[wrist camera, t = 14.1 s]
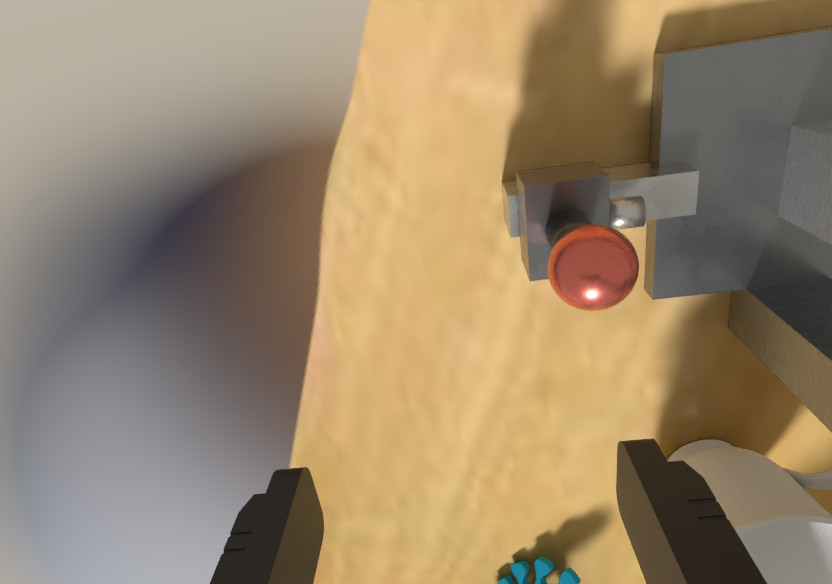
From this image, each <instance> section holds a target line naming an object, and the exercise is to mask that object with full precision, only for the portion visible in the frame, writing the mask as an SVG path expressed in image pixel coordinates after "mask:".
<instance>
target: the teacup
mask: <svg viewBox="0 0 832 584" xmlns="http://www.w3.org/2000/svg"><path fill="white" fill-rule="evenodd" d="M670 461H684V462H686V463H687V464H688V465H689V466H690V467H692V468H693V469H694V470H695V471H696V472H698V473H699V474H700V475H701V476H703V477H704V479H705V481H706V482H707V484H708V486H709V487H710V489H711V491H712V492H713V494H714V496H715V497H716V501H717V502H719V504H720V506H721V507H722V509H723V511H724V512H725V514H726V518H727V519H729V521H730V522H731V524H732V526H733V527H734V529H735V531H736V532H737V534H738V536H739V537H740V539H741V541H742V542H743V544H744V546H745V547H746V549H747V551H748V552H749V554H750V556H751V557H752V559H753V561H754V562H755V564H756V566H757V567H758V569H759V571H760V572H761V574H762V576H763V577H764V579H765V581H766V582H767V584H832V515H831V514H830V513H829V512H828V511H827V510H826V509H824V508H823V507H822V506H821V505H820V504H819V503H818V502H817V501H816V500H815V499H814V498H813V497H812V496H811V495H810V494H809V493H808V492H807V491H806V490H805V489H804V488H803V487H807V488H811V489H816V490H832V471H827V472H822V473H801V472H796V471H792V470H789V469H785V468H782V467H780V466H779V465H777V464H776V463H775V462H773V461H772V460H770V459H769V458H767V457H765V456H763V455H761V454H759V453H757V452H754V451H751V450H748V449H743V448H739V447H734V446H732V445H731V444H729V443H727V442H724V441H721V440H714V439H706V440H699V441H695V442H691V443H689V444H686V445H684V446H682V447H680V448H679V449H677V450H676V451H675V452H674V453H673V454H672V455H671V456H670V457H669V459H668V460H667V462H670ZM802 486H803V487H802Z"/></svg>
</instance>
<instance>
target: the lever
mask: <svg viewBox="0 0 832 584" xmlns="http://www.w3.org/2000/svg"><path fill="white" fill-rule="evenodd" d="M516 181H517V197H518V212H519V227H520V242H521V257H522V261H523V264H524V267H525V269H526V272H527V275H528V278H529V280H530V281H535V280H543V279H549V280H550V283H551V286H552V288H553V289H554V291H555V292H556V294H557V295H558V296H559V297H560V298H561V299H562V300H563V301H564V302H566V303H567V304H569V305H571V306H573V307H575V308H578V309H581V310H586V311H599V310H604V309H608V308H610V307H613V306H615V305H617V304H618V303H620V302H621V301H622V300H624V299H625V298H626V297H627V296H628V295H629V293H630V292H631V291H632V289H633V287H634V285H635V283H636V280H637V277H638V271H639V262H638V257H637V254H636V251H635V249H634V247H633V245H632V244H631V242H630V241H629V240H628V239H627V238H626V237H625V236H624V235H623V234H622V233H620V232H619V231H617V230H619V229H628V228H636V227H643V226H644V225H645V222H646V205H645V201H644V199H643V197H642V196H641V195H639V196H631V197H623V198H615V199H610V175H609V174H608V173H606V172H605V171H604V170H603V169H602V168H601V167H599V166H598V165H597V164H596V163H595V162H593V161H592V162H585V163H578V164H570V165H563V166H556V167H548V168H541V169H533V170H526V171H519V172H516Z"/></svg>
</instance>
